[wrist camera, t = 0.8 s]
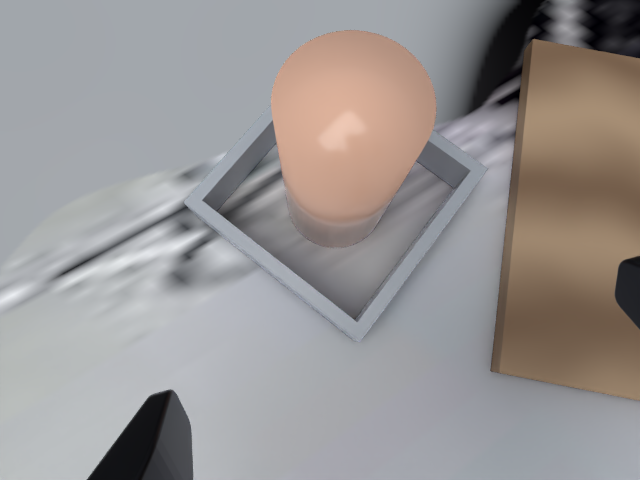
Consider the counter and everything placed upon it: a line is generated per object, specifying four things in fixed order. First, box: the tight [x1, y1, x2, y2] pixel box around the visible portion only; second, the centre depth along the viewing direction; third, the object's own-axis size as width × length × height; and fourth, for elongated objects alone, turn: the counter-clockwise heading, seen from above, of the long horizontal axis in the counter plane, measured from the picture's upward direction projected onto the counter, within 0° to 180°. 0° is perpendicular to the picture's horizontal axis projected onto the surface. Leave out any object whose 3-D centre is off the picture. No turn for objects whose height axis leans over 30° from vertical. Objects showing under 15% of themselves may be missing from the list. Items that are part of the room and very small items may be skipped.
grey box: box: [184, 105, 488, 342], centre depth 22 cm, size 10×10×2 cm
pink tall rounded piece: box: [271, 30, 436, 248], centre depth 18 cm, size 5×5×10 cm
